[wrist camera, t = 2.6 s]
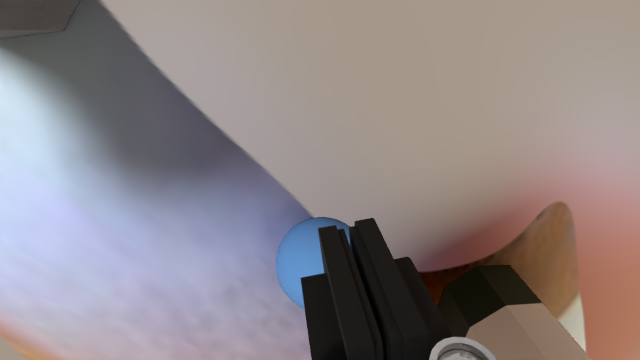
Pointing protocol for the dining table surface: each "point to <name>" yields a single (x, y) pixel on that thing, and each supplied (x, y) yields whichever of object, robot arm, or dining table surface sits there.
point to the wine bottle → (505, 317)
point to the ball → (302, 255)
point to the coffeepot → (34, 16)
